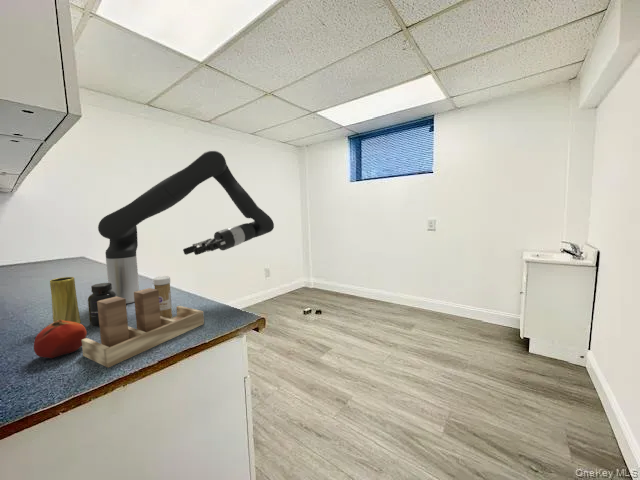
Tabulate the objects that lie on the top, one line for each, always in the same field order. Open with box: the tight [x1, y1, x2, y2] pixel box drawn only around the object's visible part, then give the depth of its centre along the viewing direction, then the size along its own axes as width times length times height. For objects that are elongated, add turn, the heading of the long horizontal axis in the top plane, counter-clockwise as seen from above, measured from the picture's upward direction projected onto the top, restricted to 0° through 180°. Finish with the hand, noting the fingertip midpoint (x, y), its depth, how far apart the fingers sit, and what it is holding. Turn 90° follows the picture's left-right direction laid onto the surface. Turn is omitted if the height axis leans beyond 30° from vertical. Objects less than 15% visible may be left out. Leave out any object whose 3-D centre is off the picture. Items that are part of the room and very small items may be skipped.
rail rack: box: [81, 287, 205, 368], centre depth 70 cm, size 11×25×13 cm, turn 154°
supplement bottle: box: [87, 282, 117, 327], centre depth 80 cm, size 7×7×12 cm
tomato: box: [33, 320, 88, 359], centre depth 63 cm, size 9×9×8 cm
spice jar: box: [153, 275, 173, 319], centre depth 83 cm, size 5×5×14 cm
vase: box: [49, 276, 82, 324], centre depth 79 cm, size 6×6×14 cm
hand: (189, 252), depth 90 cm, fingers open, 8 cm apart
